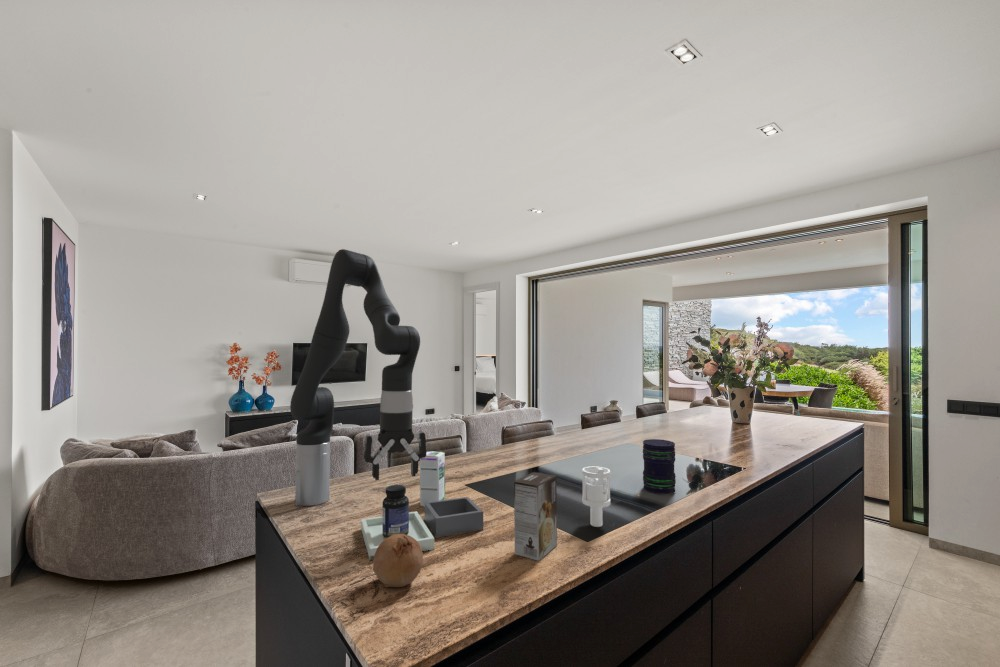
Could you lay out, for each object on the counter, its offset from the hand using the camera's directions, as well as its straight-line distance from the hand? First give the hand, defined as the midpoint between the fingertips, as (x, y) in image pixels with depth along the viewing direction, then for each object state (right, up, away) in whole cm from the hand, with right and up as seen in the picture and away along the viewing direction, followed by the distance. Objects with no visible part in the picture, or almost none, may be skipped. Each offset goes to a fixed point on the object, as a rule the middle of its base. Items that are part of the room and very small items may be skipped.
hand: (395, 477), depth 107 cm
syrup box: (+5, -15, +24) cm, 29 cm away
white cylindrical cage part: (+50, -15, +9) cm, 52 cm away
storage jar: (+76, -16, +37) cm, 86 cm away
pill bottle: (0, -14, 0) cm, 14 cm away
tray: (0, -14, 0) cm, 14 cm away
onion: (+5, -14, -20) cm, 25 cm away
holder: (+13, -15, +8) cm, 21 cm away
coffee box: (+33, -15, -6) cm, 37 cm away
